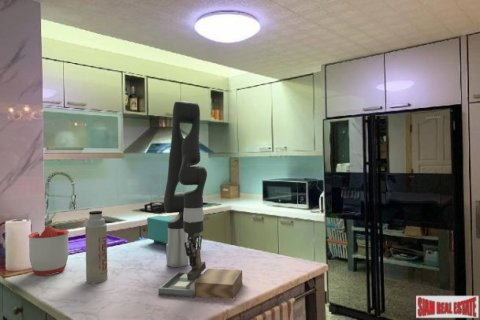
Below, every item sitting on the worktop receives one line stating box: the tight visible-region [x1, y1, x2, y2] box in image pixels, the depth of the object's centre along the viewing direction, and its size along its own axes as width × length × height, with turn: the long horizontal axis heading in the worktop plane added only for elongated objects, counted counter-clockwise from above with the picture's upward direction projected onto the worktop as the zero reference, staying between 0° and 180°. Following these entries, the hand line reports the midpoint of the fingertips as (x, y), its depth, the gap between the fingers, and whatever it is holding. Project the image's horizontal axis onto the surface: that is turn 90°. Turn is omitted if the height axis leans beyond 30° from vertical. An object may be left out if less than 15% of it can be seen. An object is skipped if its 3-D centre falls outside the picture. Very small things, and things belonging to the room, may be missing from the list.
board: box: [194, 267, 243, 300], centre depth 129 cm, size 14×16×5 cm
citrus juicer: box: [28, 226, 69, 277], centre depth 153 cm, size 16×17×20 cm
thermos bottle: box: [84, 210, 109, 284], centre depth 141 cm, size 8×8×28 cm
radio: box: [146, 215, 175, 245], centre depth 194 cm, size 34×10×15 cm, turn 49°
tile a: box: [174, 281, 190, 290], centre depth 128 cm, size 4×4×2 cm
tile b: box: [180, 274, 193, 284], centre depth 136 cm, size 4×4×2 cm
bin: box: [157, 271, 204, 299], centre depth 132 cm, size 13×18×2 cm
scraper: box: [187, 248, 207, 281], centre depth 131 cm, size 3×14×10 cm, turn 168°
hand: (194, 264), depth 131 cm, fingers closed on scraper, 3 cm apart
